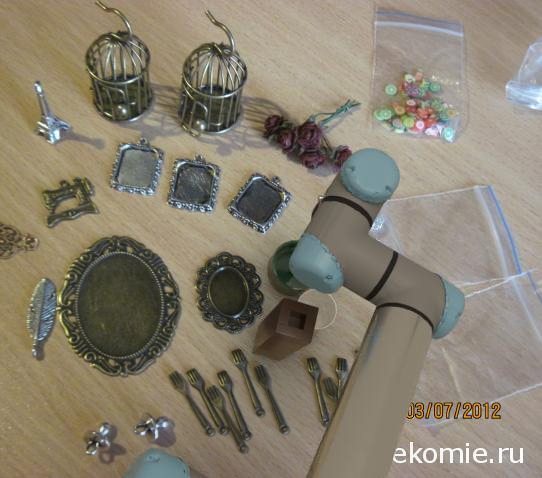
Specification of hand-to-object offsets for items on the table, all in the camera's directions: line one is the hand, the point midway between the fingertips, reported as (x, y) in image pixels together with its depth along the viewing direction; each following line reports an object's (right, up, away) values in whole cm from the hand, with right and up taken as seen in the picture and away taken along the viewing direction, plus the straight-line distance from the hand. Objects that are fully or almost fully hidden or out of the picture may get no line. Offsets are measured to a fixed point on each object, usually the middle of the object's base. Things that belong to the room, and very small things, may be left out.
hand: (304, 256), depth 108 cm
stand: (-6, -18, +6) cm, 20 cm away
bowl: (-1, -4, +11) cm, 12 cm away
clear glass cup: (+1, -13, +9) cm, 16 cm away
